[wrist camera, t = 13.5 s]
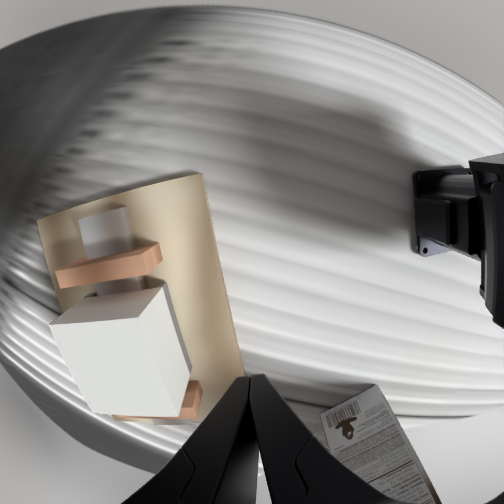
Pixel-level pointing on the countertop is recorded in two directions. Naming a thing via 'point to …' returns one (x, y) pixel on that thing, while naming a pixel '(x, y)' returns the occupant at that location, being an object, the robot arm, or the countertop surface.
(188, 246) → the rail board
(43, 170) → the countertop surface
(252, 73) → the countertop surface
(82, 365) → the block
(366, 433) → the coffee box
